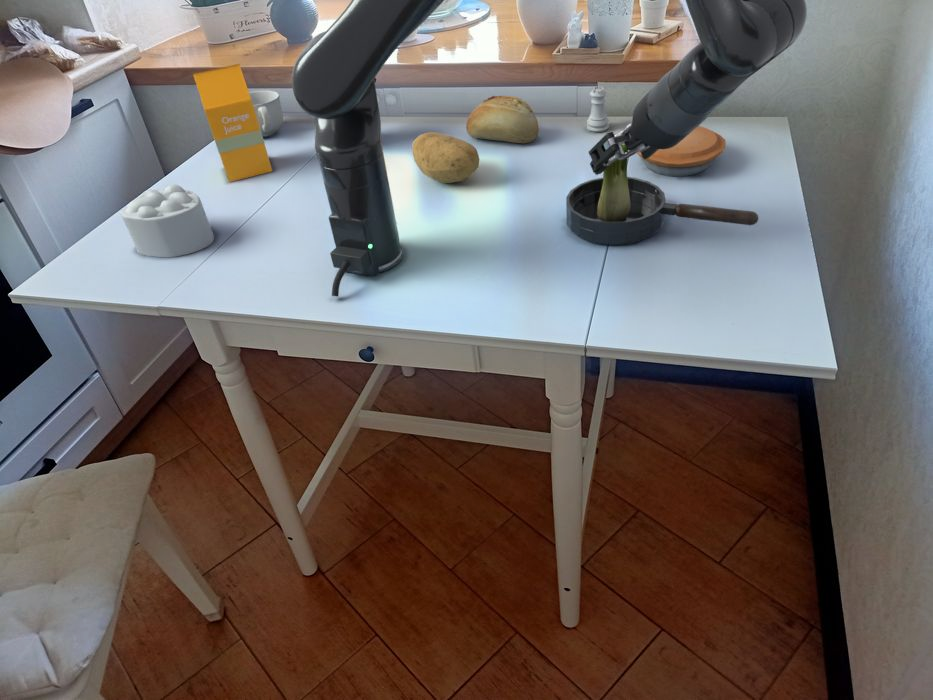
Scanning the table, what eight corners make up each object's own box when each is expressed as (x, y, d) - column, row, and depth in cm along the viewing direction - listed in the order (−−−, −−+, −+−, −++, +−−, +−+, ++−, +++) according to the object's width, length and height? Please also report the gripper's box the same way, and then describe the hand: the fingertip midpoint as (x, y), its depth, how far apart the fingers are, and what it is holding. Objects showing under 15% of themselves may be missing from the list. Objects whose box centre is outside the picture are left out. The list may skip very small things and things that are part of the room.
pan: (650, 253, 105) (652, 228, 102) (553, 240, 111) (553, 215, 108) (672, 205, 115) (674, 181, 113) (582, 195, 121) (582, 172, 118)
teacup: (238, 129, 162) (227, 94, 157) (285, 119, 164) (275, 84, 159) (242, 151, 152) (230, 115, 146) (292, 140, 153) (282, 104, 148)
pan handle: (756, 228, 103) (758, 216, 101) (660, 217, 108) (661, 205, 107) (758, 221, 104) (760, 209, 103) (663, 211, 109) (664, 199, 108)
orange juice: (273, 171, 142) (242, 69, 129) (228, 182, 140) (193, 80, 127) (266, 157, 148) (237, 58, 135) (224, 168, 146) (190, 68, 133)
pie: (639, 142, 135) (640, 116, 131) (726, 146, 130) (729, 119, 126) (625, 179, 124) (626, 152, 120) (719, 185, 119) (723, 157, 116)
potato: (459, 199, 124) (454, 156, 119) (404, 181, 132) (397, 139, 127) (495, 177, 129) (492, 135, 124) (440, 161, 137) (435, 120, 132)
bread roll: (476, 127, 148) (473, 89, 143) (546, 130, 144) (544, 91, 138) (460, 146, 142) (455, 107, 137) (532, 150, 137) (530, 110, 132)
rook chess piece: (612, 125, 142) (613, 85, 137) (603, 134, 139) (604, 93, 134) (592, 123, 144) (592, 83, 139) (582, 131, 141) (582, 91, 136)
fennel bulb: (622, 208, 115) (625, 137, 107) (638, 221, 111) (642, 148, 104) (590, 217, 114) (590, 146, 106) (604, 231, 110) (606, 158, 102)
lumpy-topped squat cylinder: (165, 223, 129) (147, 179, 123) (227, 228, 125) (210, 182, 120) (129, 254, 121) (108, 208, 116) (193, 259, 118) (174, 213, 112)
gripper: (708, 67, 92) (648, 125, 108) (616, 94, 89) (568, 150, 104) (731, 119, 92) (668, 170, 108) (640, 148, 88) (588, 197, 104)
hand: (619, 160), depth 106 cm, fingers open, 8 cm apart
